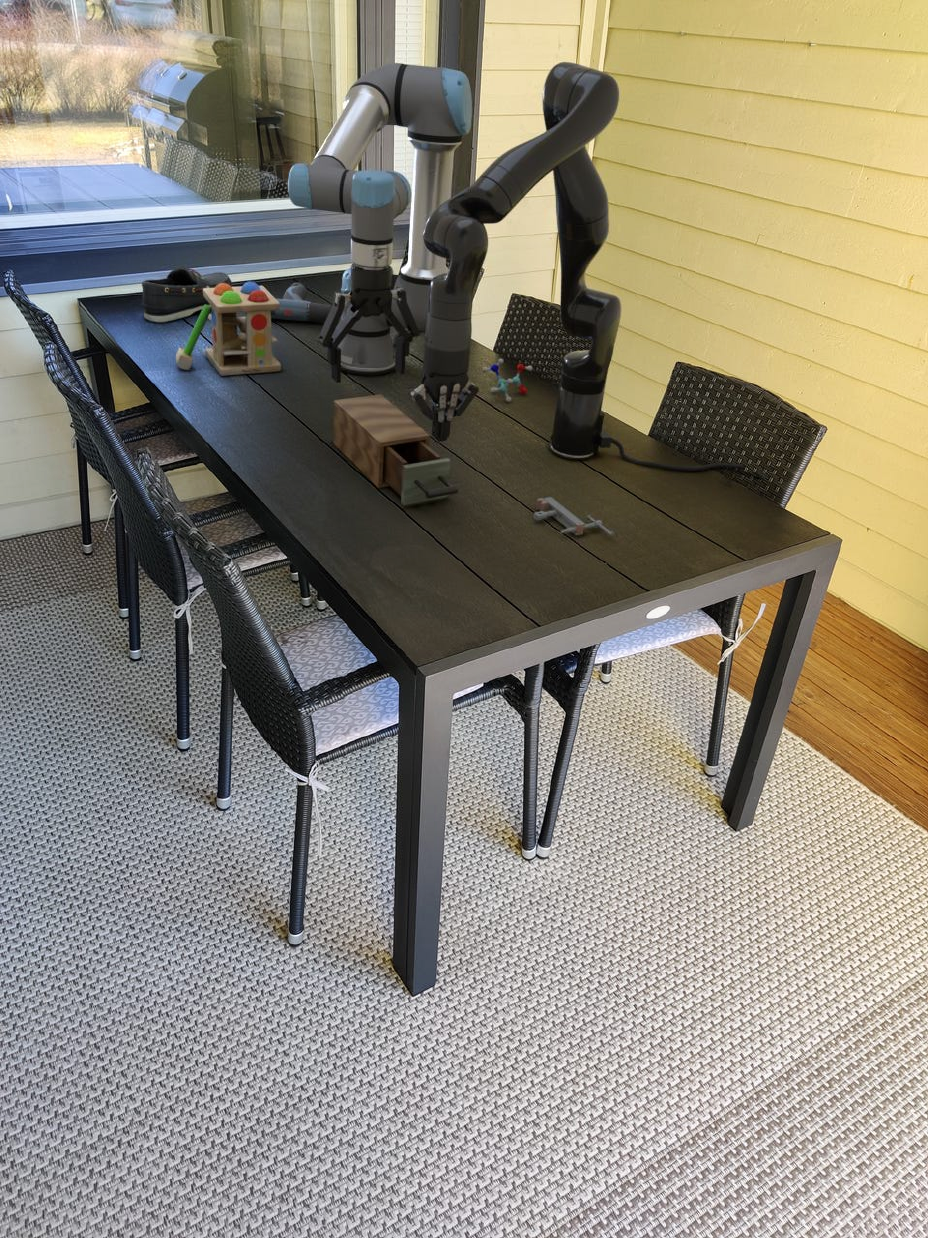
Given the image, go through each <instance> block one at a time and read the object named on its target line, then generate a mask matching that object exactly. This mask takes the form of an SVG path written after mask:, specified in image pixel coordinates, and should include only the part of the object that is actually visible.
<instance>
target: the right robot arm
mask: <svg viewBox="0 0 928 1238" xmlns="http://www.w3.org/2000/svg"><path fill="white" fill-rule="evenodd" d="M619 102H620V88H619V85H618V82H617V80H616V78H614V76H612V75H611V74H609V73H606V72H604V71H602V70H599V69H595V68H592V67H589V66H586V65H582V64H579V63H576V62H572V61H571V62H569V61H561V62H559V63H557V64H555V65H553V67H552V68H551V69H550V71H549V72H548V74H547V76H546V79H545V81H544V84H543V89H542V114H543V120H544V125H545V126H544V127H545V131H544V132H543V133H541V134H539V135H537V136H535V137H533V138H530V139H529V140H527V141H524V142H522V143H520V144H518V145H515V146H513V147H512V148H510V149H508V150H507V151H505V152H504V153H502V154H501V155H500V156H498V157H497V158H496V159H495V160H494V161H493V162H492V163H491V164H490V165H489V166H488V167H487V168H486V169H485V170H484V171H483V172H482V174H481V175H480V176H478V178H476V180H475V181H474V182H473V183H472V184H471V185H469V186H468V187H467V188H465V189H462V190H460V191H459V192H458V193H456V194H455V195H453V196H452V197H450V199H449V200H447V201H446V202H444V203H443V204H441V205H440V206H439V207H438V208H436V209H435V210H434V211H433V213H432V214H431V215H430V216H429V218H428V220H427V222H426V224H425V227H424V231H423V240H424V244H425V246H426V248H427V249H428V250H429V251H430V252H431V253H433V254H435V255H437V256H439V257H442V258H445V259H446V260H448V261H450V263H449V264H450V266H449V267H448V269H449V271H448V273H443V274H439V275H436V276H435V277H434V278H433V279H432V281H431V284H430V293H429V309H428V318H427V323H426V332H425V331H424V348H423V349H424V350H423V375H422V377H421V379H420V384H419V386H417V388H415V389H413V388H411V389H409V390H408V392H407V393H408V396H409V397H410V399H411V400H412V401H413V402H414V405H416V407H417V408H418V409H419V411H420V412H421V413H422V414H423V415H424V416H425V417H426V418H427V419H428V420H430V421H432V423H431V435H432V437H433V438H434V440H436V441H437V442H438V443H440V442H447V441H448V438H449V437H450V435H451V424H452V421H453V419H454V418H455V417H461V416H462V415H463V413H464V412H465V410H467V408H468V407H469V405H470V404H471V403H472V401H473V400H474V398H475V397H476V395H477V394H478V393H479V391H480V388H479V387H478V386H477V385H476V384H474V383H473V382H471V381H470V380H469V379H470V378H469V377H470V376H469V374H468V371H469V366H470V356H471V355H470V354H471V344H472V334H473V333H472V332H473V326H472V325H473V324H472V313H473V303H474V292H475V288H476V287H477V286H476V285H477V283H478V281H479V278H480V274H481V271H482V269H483V266H484V264H485V261H486V257H487V255H488V250H489V234H488V231H487V227H486V225H492V224H493V225H494V224H499V223H500V222H502V221H503V220H504V219H505V218H506V217H507V216H508V215H509V214H511V212H512V211H513V210H514V209H515V207H517V205H519V203H520V202H521V201H522V200H523V199H524V198H525V197H526V195H528V194H529V192H531V190H532V189H533V188H534V187H535V186H536V185H537V184H539V183H540V182H541V181H542V180H544V178H545V177H547V175H549V174H550V173H552V175H553V176H552V177H553V183H554V194H555V195H554V196H555V215H556V216H555V217H556V226H557V227H556V228H557V237H558V246H559V247H558V248H559V261H560V305H559V310H560V312H559V313H560V314H559V316H560V322H561V323H560V324H561V326H562V329H563V331H564V332H565V333H567V334H568V335H571V336H573V337H577V338H579V339H584V340H587V341H591V344H590V346H589V347H590V348H589V349H585V350H584V349H583V350H575V351H572V352H569V353H567V354H566V355H564V357H563V359H562V364H561V372H560V373H561V374H560V379H559V387H558V391H557V392H558V393H557V399H556V407H555V412H554V413H555V414H554V420H553V426H552V427H553V428H552V434H551V436H550V438H549V439H550V445H549V451H550V452H551V453H552V454H554V455H555V456H557V457H559V458H562V459H566V460H572V461H585V460H589V459H591V458H593V457H598V455H599V449H605V448H607V449H609V448H611V444H613V445H615V446H616V448H618V450H619V451H618V452H619V455H620V457H621V459H623V460H624V461H626V462H628V463H631V464H635V465H638V466H643V467H651V468H658V469H664V470H670V471H683V472H700V471H705V470H709V469H714V468H715V469H717V468H725V469H737V470H744V471H746V470H745V469H743V468H745V467H744V466H743V465H744V464H739V463H728V462H727V463H726V462H714V463H708V464H704V465H698V466H697V465H696V466H687V465H686V466H684V465H683V466H682V465H672V464H666V463H660V462H655V461H643V460H637V459H634V458H631V457H629V456H628V455H627V454H626V453H625V449H624V446H623V444H622V443H621V442H619V441H618V440H617V439H615V438H613V437H612V436H611V435H610V434H609V433H608V432H607V431H606V430H605V429H604V428H603V425H604V420H605V412H604V411H603V409H602V407H603V401H604V398H605V397H604V396H605V391H606V384H607V379H608V373H609V368H610V365H611V361H612V359H613V354H614V349H615V344H616V340H617V335H618V331H619V326H620V322H621V318H622V317H621V316H622V302H621V299H620V298H619V296H618V295H615V294H612V293H608V292H604V291H600V290H596V289H593V288H589V287H588V286H587V284H586V272H587V269H588V268H589V266H590V264H591V263H592V262H593V260H594V259H595V257H596V256H597V255H598V253H599V252H600V251H601V250H602V248H603V247H604V245H605V243H606V242H607V239H608V236H609V233H610V209H609V208H610V207H609V196H608V191H607V190H606V187H605V184H604V181H603V180H602V177H601V176H600V173H599V172H598V170H597V168H596V166H595V164H594V162H593V160H592V158H591V156H590V154H589V152H588V149H587V146H586V145H588V144H589V143H590V142H593V140H594V139H596V138H597V137H598V136H599V135H600V134H602V133H603V131H605V129H606V128H607V127H608V126H609V125H610V124H611V122H612V121H613V119H614V117H615V115H616V113H617V110H618V107H619V104H620V103H619ZM427 396H428V398H429V402H430V405H431V407H430V406H429V404H428V403H427V402H426V400H427ZM753 474H754V475H755V476H757V478H758V479H759V480H761V481H766V479H765V476H764V475H763V474H762V473H761V474H756V473H753Z"/></svg>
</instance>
